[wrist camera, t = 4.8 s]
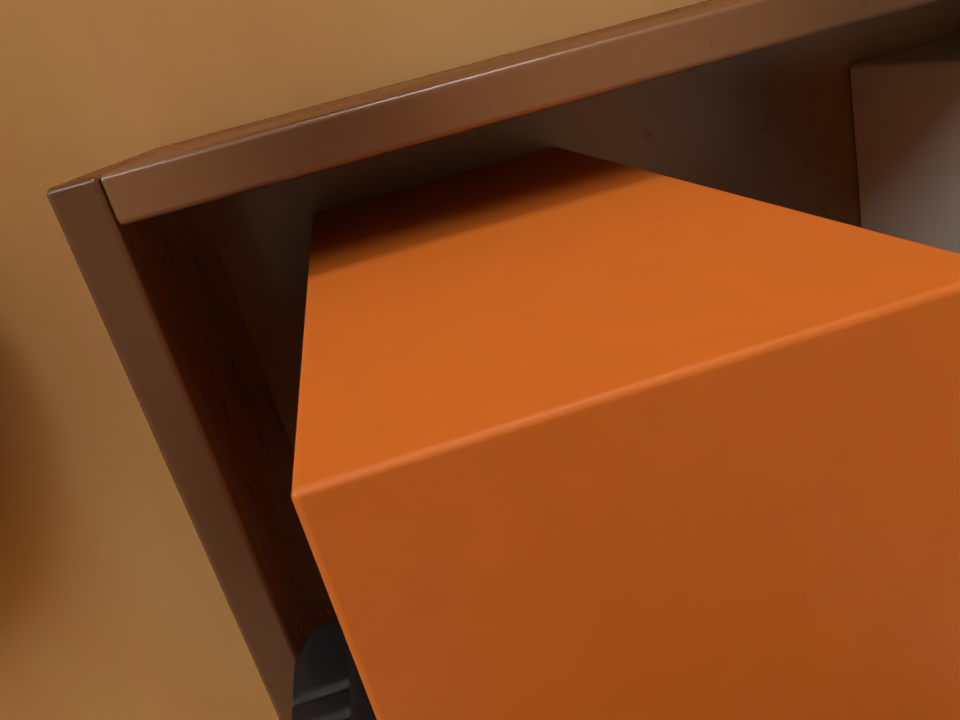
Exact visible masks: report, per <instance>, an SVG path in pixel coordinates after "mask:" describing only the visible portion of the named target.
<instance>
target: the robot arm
mask: <svg viewBox="0 0 960 720" xmlns="http://www.w3.org/2000/svg"><path fill="white" fill-rule="evenodd" d="M293 702H294V706H293V707H292V720H377V719H376V716H375V714H374V711H373V708H372V706H371V703H370V701H369V698H368V695H367V693H366V690H365V688H364V685H363V683H362V680H361V677H360V675H359V672H358V670H357V667H356V664H355V662H354V659H353V657H352V654H351V651H350V649H349V646H348V644H347V641H346V638H345V636H344V633H343V631H342V628H341V625H340V623H339V621H336V622H333V623H330V624H327V625H324V626H321V627H318V628H315V629H313V630H312V632H311V634H310V636H309V638H308V640H307V642H306V643H305V645H304V647H303V649H302V651H301V653H300V655H299V657H298V659H297V661H296V662H295V664H294V684H293Z"/></svg>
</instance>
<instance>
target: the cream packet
mask: <svg viewBox="0 0 960 720" xmlns="http://www.w3.org/2000/svg"><path fill="white" fill-rule="evenodd" d="M850 77H851V91H852V105H853V119H854V132H855V146H856V160H857V174H858V188H859V201H860V215H861V228H864V229H868V230H872V231H875V232H879V233H883V234H887V235H891V236H894V237H898V238H902V239H906V240H909V241H913V242H917V243H921V244H924V245H928V246H932V247H936V248H940V249H943V250H947V251H951V252H955V253H958V254H960V34H958V35H954V36H951V37H947V38H943V39H940V40H936V41H933V42H929V43H926V44H922V45H918V46H915V47H911V48H908V49H904V50H901V51H897V52H893V53H890V54H886V55H883V56H879V57H876V58H872V59H869V60H865V61H861V62H858V63H855V64H853V65H852V66H851V67H850Z"/></svg>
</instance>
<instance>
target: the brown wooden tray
mask: <svg viewBox="0 0 960 720" xmlns="http://www.w3.org/2000/svg"><path fill="white" fill-rule="evenodd" d="M958 34H960V0H708V1H704V2H700V3H696V4H693V5H689V6H685V7H681V8H678V9H674V10H670V11H667V12H663V13H659V14H655V15H652V16H648V17H644V18H640V19H637V20H633V21H629V22H626V23H622V24H618V25H614V26H611V27H607V28H603V29H599V30H596V31H592V32H588V33H584V34H581V35H577V36H573V37H570V38H566V39H562V40H558V41H555V42H551V43H547V44H543V45H540V46H536V47H532V48H529V49H525V50H521V51H517V52H514V53H510V54H506V55H502V56H499V57H495V58H491V59H487V60H484V61H480V62H476V63H473V64H469V65H465V66H461V67H458V68H454V69H450V70H446V71H443V72H439V73H435V74H432V75H428V76H424V77H420V78H417V79H413V80H409V81H405V82H402V83H398V84H394V85H391V86H387V87H383V88H379V89H376V90H372V91H368V92H364V93H361V94H357V95H353V96H349V97H346V98H342V99H338V100H335V101H331V102H327V103H323V104H320V105H316V106H312V107H308V108H305V109H301V110H297V111H294V112H290V113H286V114H282V115H279V116H275V117H271V118H267V119H264V120H260V121H256V122H252V123H249V124H245V125H241V126H238V127H234V128H230V129H226V130H223V131H219V132H215V133H211V134H208V135H204V136H200V137H197V138H193V139H189V140H185V141H182V142H178V143H174V144H170V145H167V146H163V147H159V148H156V149H153V150H150V151H147V152H145V153H142V154H139V155H137V156H134V157H131V158H129V159H126V160H123V161H121V162H118V163H115V164H113V165H110V166H108V167H105V168H102V169H100V170H97V171H94V172H92V173H89V174H86V175H84V176H81V177H78V178H76V179H73V180H70V181H68V182H65V183H63V184H60V185H57V186H55V187H52V188H50V189H49V190H48V191H47V196H48V198H49V201H50V203H51V205H52V207H53V210H54V212H55V214H56V216H57V219H58V221H59V223H60V225H61V228H62V230H63V232H64V234H65V237H66V239H67V241H68V243H69V246H70V248H71V250H72V252H73V255H74V257H75V259H76V261H77V264H78V266H79V268H80V270H81V273H82V275H83V277H84V279H85V282H86V284H87V286H88V288H89V291H90V293H91V295H92V297H93V300H94V302H95V304H96V306H97V309H98V311H99V313H100V315H101V318H102V320H103V322H104V325H105V327H106V329H107V331H108V334H109V336H110V338H111V340H112V343H113V345H114V347H115V349H116V352H117V354H118V356H119V358H120V361H121V363H122V365H123V367H124V370H125V372H126V374H127V376H128V379H129V381H130V383H131V385H132V388H133V390H134V392H135V394H136V397H137V399H138V401H139V403H140V406H141V408H142V410H143V412H144V415H145V417H146V419H147V421H148V424H149V426H150V428H151V430H152V433H153V435H154V437H155V439H156V442H157V444H158V446H159V448H160V451H161V453H162V455H163V457H164V460H165V462H166V464H167V466H168V469H169V471H170V473H171V475H172V478H173V480H174V482H175V484H176V487H177V489H178V491H179V493H180V496H181V498H182V500H183V502H184V505H185V507H186V509H187V511H188V514H189V516H190V518H191V520H192V523H193V525H194V527H195V529H196V532H197V534H198V536H199V538H200V541H201V543H202V545H203V547H204V550H205V552H206V554H207V556H208V559H209V561H210V563H211V565H212V568H213V570H214V572H215V574H216V577H217V579H218V581H219V583H220V586H221V588H222V590H223V592H224V595H225V597H226V599H227V601H228V604H229V606H230V608H231V611H232V613H233V615H234V617H235V620H236V622H237V624H238V626H239V629H240V631H241V633H242V635H243V638H244V640H245V642H246V644H247V647H248V649H249V651H250V653H251V656H252V658H253V660H254V662H255V665H256V667H257V669H258V671H259V674H260V676H261V678H262V680H263V683H264V685H265V687H266V689H267V692H268V694H269V696H270V698H271V701H272V703H273V705H274V707H275V710H276V712H277V714H278V716H279V719H280V720H292V707H293V706H294V702H293V684H294V664H295V662H296V661H297V659H298V657H299V655H300V653H301V651H302V649H303V647H304V645H305V643H306V642H307V640H308V638H309V636H310V634H311V632H312V630H313V629H315V628H318V627H321V626H324V625H327V624H330V623H333V622H336V621H339V620H338V618H337V615H336V613H335V610H334V607H333V605H332V602H331V600H330V597H329V594H328V592H327V589H326V587H325V584H324V581H323V579H322V576H321V574H320V571H319V568H318V566H317V563H316V561H315V558H314V556H313V553H312V550H311V548H310V545H309V543H308V540H307V537H306V535H305V532H304V530H303V527H302V524H301V522H300V519H299V517H298V514H297V511H296V509H295V506H294V504H293V501H292V498H291V493H292V480H293V467H294V454H295V441H296V428H297V415H298V402H299V389H300V376H301V363H302V350H303V337H304V324H305V311H306V298H307V285H308V272H309V259H310V246H311V233H312V220H313V216H314V215H315V214H318V213H322V212H325V211H329V210H333V209H336V208H340V207H343V206H347V205H350V204H354V203H358V202H361V201H365V200H368V199H372V198H375V197H379V196H383V195H386V194H390V193H393V192H397V191H400V190H404V189H407V188H411V187H415V186H418V185H422V184H425V183H429V182H432V181H436V180H440V179H443V178H447V177H450V176H454V175H457V174H461V173H465V172H468V171H472V170H475V169H479V168H482V167H486V166H490V165H493V164H497V163H500V162H504V161H507V160H511V159H514V158H518V157H522V156H525V155H529V154H532V153H536V152H539V151H543V150H547V149H550V148H554V147H559V148H563V149H566V150H570V151H574V152H578V153H581V154H585V155H589V156H593V157H596V158H600V159H604V160H608V161H612V162H615V163H619V164H623V165H627V166H630V167H634V168H638V169H642V170H645V171H649V172H653V173H657V174H661V175H664V176H668V177H672V178H676V179H679V180H683V181H687V182H691V183H694V184H698V185H702V186H706V187H710V188H713V189H717V190H721V191H725V192H728V193H732V194H736V195H740V196H743V197H747V198H751V199H755V200H759V201H762V202H766V203H770V204H774V205H777V206H781V207H785V208H789V209H792V210H796V211H800V212H804V213H808V214H811V215H815V216H819V217H823V218H826V219H830V220H834V221H838V222H842V223H845V224H849V225H853V226H857V227H860V228H861V215H860V201H859V188H858V174H857V160H856V146H855V132H854V119H853V105H852V91H851V77H850V67H851V66H852V65H853V64H855V63H858V62H861V61H865V60H869V59H872V58H876V57H879V56H883V55H886V54H890V53H893V52H897V51H901V50H904V49H908V48H911V47H915V46H918V45H922V44H926V43H929V42H933V41H936V40H940V39H943V38H947V37H951V36H954V35H958Z"/></svg>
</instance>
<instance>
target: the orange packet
mask: <svg viewBox="0 0 960 720" xmlns="http://www.w3.org/2000/svg"><path fill="white" fill-rule="evenodd" d="M291 498H292V501H293V504H294V506H295V509H296V511H297V514H298V517H299V519H300V522H301V524H302V527H303V530H304V532H305V535H306V537H307V540H308V543H309V545H310V548H311V550H312V553H313V556H314V558H315V561H316V563H317V566H318V568H319V571H320V574H321V576H322V579H323V581H324V584H325V587H326V589H327V592H328V594H329V597H330V600H331V602H332V605H333V607H334V610H335V613H336V615H337V618H338V620H339V623H340V625H341V628H342V631H343V633H344V636H345V638H346V641H347V644H348V646H349V649H350V651H351V654H352V657H353V659H354V662H355V664H356V667H357V670H358V672H359V675H360V677H361V680H362V683H363V685H364V688H365V690H366V693H367V695H368V698H369V701H370V703H371V706H372V708H373V711H374V714H375V716H376V719H377V720H960V254H958V253H955V252H951V251H947V250H943V249H940V248H936V247H932V246H928V245H924V244H921V243H917V242H913V241H909V240H906V239H902V238H898V237H894V236H891V235H887V234H883V233H879V232H875V231H872V230H868V229H864V228H860V227H857V226H853V225H849V224H845V223H842V222H838V221H834V220H830V219H826V218H823V217H819V216H815V215H811V214H808V213H804V212H800V211H796V210H792V209H789V208H785V207H781V206H777V205H774V204H770V203H766V202H762V201H759V200H755V199H751V198H747V197H743V196H740V195H736V194H732V193H728V192H725V191H721V190H717V189H713V188H710V187H706V186H702V185H698V184H694V183H691V182H687V181H683V180H679V179H676V178H672V177H668V176H664V175H661V174H657V173H653V172H649V171H645V170H642V169H638V168H634V167H630V166H627V165H623V164H619V163H615V162H612V161H608V160H604V159H600V158H596V157H593V156H589V155H585V154H581V153H578V152H574V151H570V150H566V149H563V148H559V147H554V148H550V149H547V150H543V151H539V152H536V153H532V154H529V155H525V156H522V157H518V158H514V159H511V160H507V161H504V162H500V163H497V164H493V165H490V166H486V167H482V168H479V169H475V170H472V171H468V172H465V173H461V174H457V175H454V176H450V177H447V178H443V179H440V180H436V181H432V182H429V183H425V184H422V185H418V186H415V187H411V188H407V189H404V190H400V191H397V192H393V193H390V194H386V195H383V196H379V197H375V198H372V199H368V200H365V201H361V202H358V203H354V204H350V205H347V206H343V207H340V208H336V209H333V210H329V211H325V212H322V213H318V214H315V215H314V216H313V220H312V233H311V246H310V259H309V272H308V285H307V298H306V311H305V324H304V337H303V350H302V363H301V376H300V389H299V402H298V415H297V428H296V441H295V454H294V467H293V480H292V493H291Z"/></svg>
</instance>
